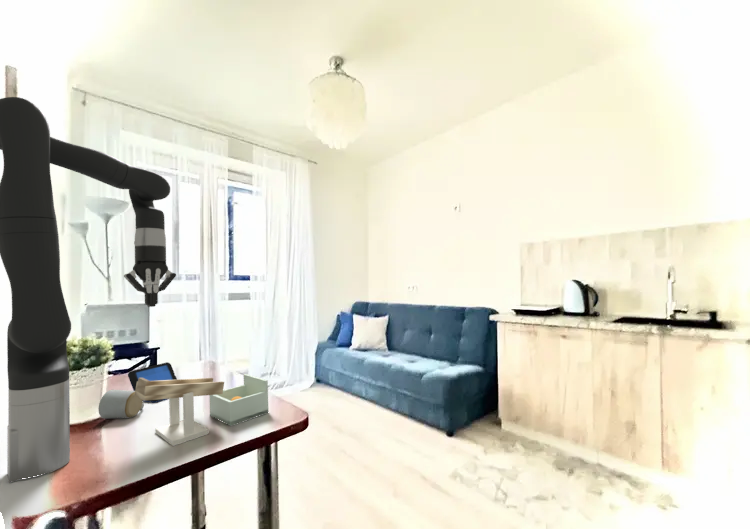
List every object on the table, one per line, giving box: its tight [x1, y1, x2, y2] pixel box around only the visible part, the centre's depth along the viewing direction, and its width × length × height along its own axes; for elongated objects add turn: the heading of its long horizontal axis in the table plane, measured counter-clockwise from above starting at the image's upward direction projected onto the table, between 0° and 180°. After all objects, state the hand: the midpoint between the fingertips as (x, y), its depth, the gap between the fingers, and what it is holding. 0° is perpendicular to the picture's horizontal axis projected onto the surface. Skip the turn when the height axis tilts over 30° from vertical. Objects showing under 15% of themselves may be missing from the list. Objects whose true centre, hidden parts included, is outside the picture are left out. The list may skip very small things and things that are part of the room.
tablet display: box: [127, 362, 178, 404], centre depth 121 cm, size 16×13×9 cm
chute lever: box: [134, 377, 225, 402], centre depth 91 cm, size 18×16×4 cm
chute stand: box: [154, 392, 209, 447], centre depth 88 cm, size 8×12×10 cm, turn 48°
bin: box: [209, 373, 270, 427], centre depth 99 cm, size 11×12×9 cm
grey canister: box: [98, 389, 145, 420], centre depth 102 cm, size 11×8×8 cm
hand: (151, 306), depth 100 cm, fingers closed
